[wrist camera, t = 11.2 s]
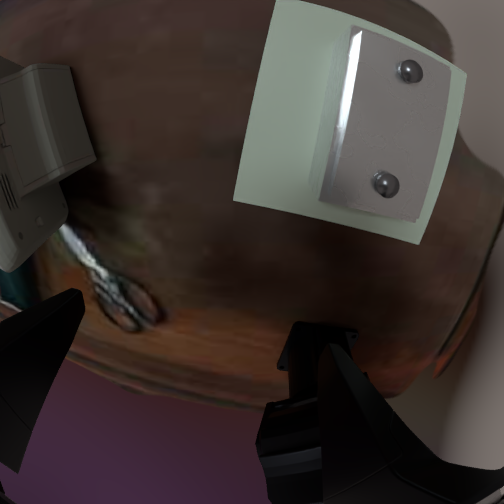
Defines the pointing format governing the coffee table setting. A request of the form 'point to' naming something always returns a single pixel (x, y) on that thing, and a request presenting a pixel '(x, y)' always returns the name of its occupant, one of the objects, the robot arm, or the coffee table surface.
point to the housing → (379, 125)
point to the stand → (317, 121)
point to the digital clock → (36, 154)
